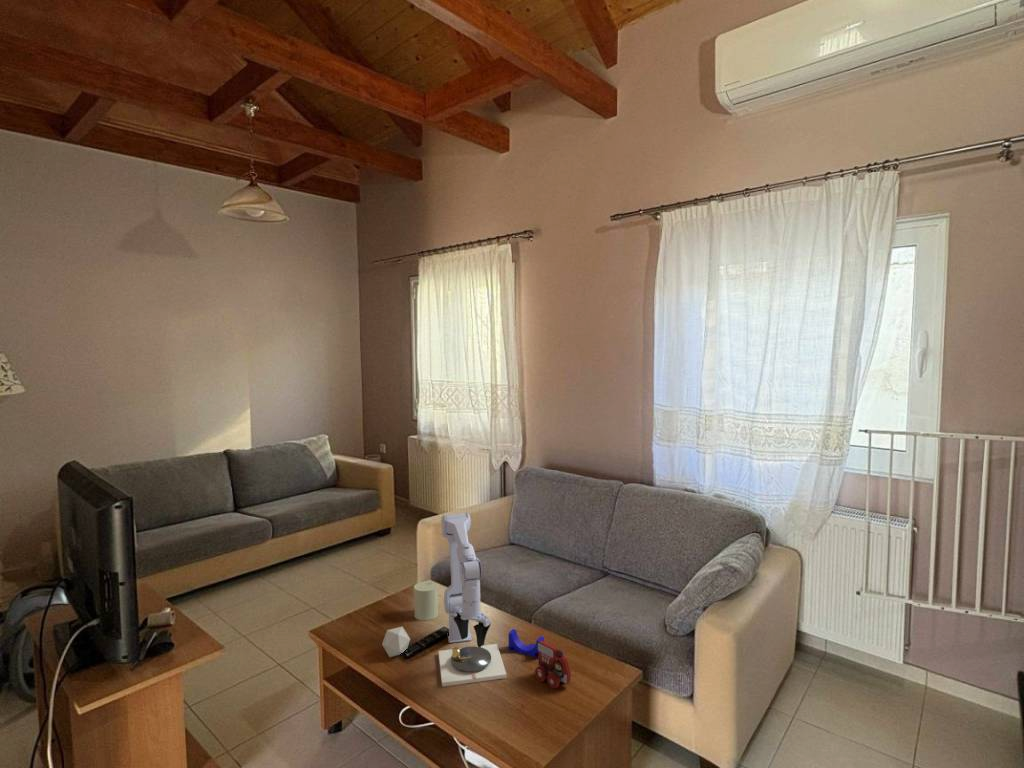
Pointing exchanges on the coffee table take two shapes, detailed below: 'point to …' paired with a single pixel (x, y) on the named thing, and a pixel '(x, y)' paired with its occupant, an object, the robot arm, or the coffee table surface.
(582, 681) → the coffee table surface
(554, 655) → the toy fire truck
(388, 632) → the die
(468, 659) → the handwheel
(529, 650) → the cable clip
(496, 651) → the wheel base
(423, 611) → the can
